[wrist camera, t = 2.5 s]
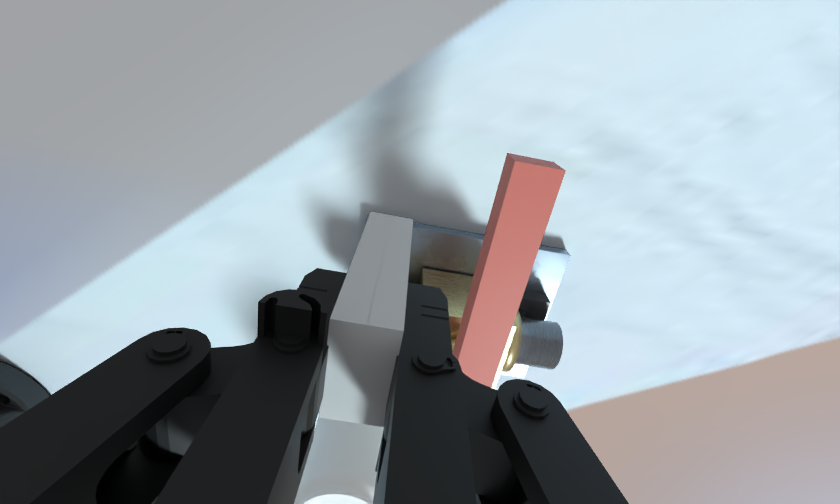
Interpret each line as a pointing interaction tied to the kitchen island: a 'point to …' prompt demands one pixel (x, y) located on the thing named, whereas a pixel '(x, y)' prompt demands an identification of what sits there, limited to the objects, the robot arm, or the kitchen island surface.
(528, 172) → the lever
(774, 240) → the kitchen island surface
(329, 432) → the beverage can
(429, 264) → the valve fixture
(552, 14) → the kitchen island surface
